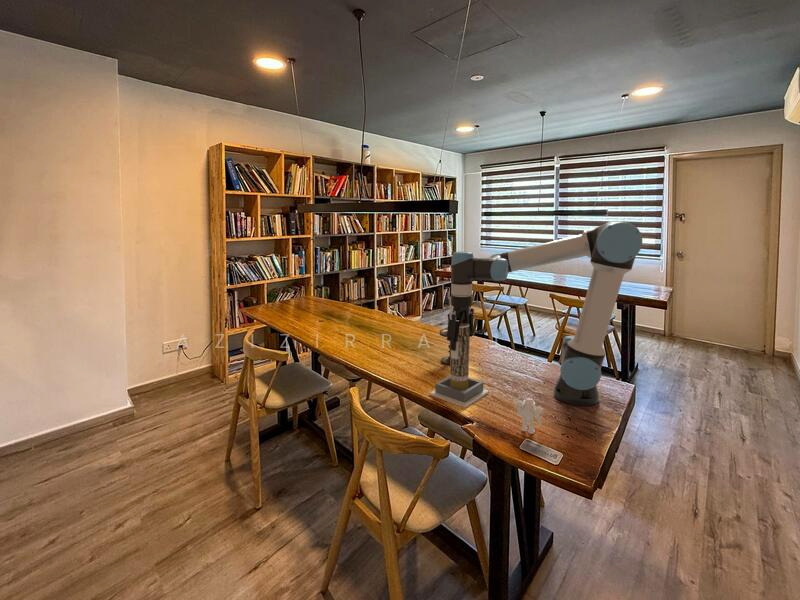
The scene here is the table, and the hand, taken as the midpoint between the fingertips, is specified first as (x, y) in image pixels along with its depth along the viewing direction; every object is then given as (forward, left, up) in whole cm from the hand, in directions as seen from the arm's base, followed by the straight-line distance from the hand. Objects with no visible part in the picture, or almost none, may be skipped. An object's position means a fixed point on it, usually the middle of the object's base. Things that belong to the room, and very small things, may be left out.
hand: (460, 355), depth 147 cm
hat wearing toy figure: (-31, +8, -16) cm, 36 cm away
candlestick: (+22, -26, -16) cm, 38 cm away
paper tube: (0, 0, -13) cm, 13 cm away
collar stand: (0, 0, -15) cm, 15 cm away
